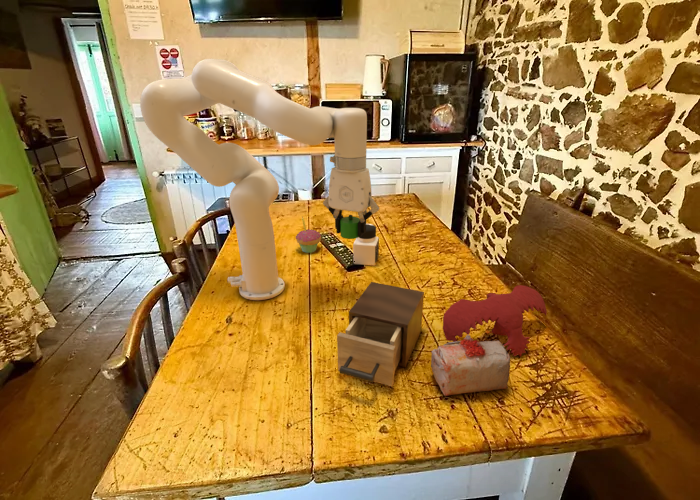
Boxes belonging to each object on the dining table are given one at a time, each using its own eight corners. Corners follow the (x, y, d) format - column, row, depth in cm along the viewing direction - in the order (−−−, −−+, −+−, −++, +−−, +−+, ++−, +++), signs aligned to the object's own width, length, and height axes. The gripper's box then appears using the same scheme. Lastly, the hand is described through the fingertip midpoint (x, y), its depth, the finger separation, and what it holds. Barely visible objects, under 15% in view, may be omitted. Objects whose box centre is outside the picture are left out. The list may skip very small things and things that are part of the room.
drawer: (384, 403, 72) (385, 365, 68) (328, 386, 76) (326, 349, 72) (409, 348, 86) (411, 314, 82) (360, 335, 90) (360, 303, 86)
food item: (440, 401, 73) (445, 359, 69) (427, 372, 80) (430, 332, 76) (510, 394, 75) (518, 352, 71) (491, 365, 82) (498, 326, 78)
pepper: (341, 239, 100) (341, 219, 97) (339, 231, 104) (339, 212, 102) (362, 238, 100) (362, 218, 98) (358, 230, 105) (359, 211, 103)
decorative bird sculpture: (549, 344, 95) (525, 284, 99) (580, 339, 86) (552, 274, 90) (449, 376, 85) (428, 309, 89) (473, 374, 77) (447, 300, 81)
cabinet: (405, 367, 82) (407, 324, 77) (349, 352, 86) (348, 311, 82) (421, 330, 93) (424, 291, 89) (371, 319, 98) (371, 281, 93)
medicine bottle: (375, 266, 124) (376, 230, 119) (353, 264, 125) (352, 229, 120) (378, 256, 130) (379, 222, 125) (357, 254, 132) (357, 221, 127)
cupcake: (292, 252, 134) (289, 219, 129) (304, 243, 141) (302, 211, 136) (315, 256, 131) (313, 222, 126) (326, 246, 138) (324, 214, 133)
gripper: (311, 163, 94) (314, 233, 102) (379, 169, 88) (377, 243, 96) (325, 157, 101) (326, 224, 108) (389, 162, 95) (386, 233, 102)
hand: (350, 232), depth 102 cm, fingers closed on pepper, 5 cm apart
